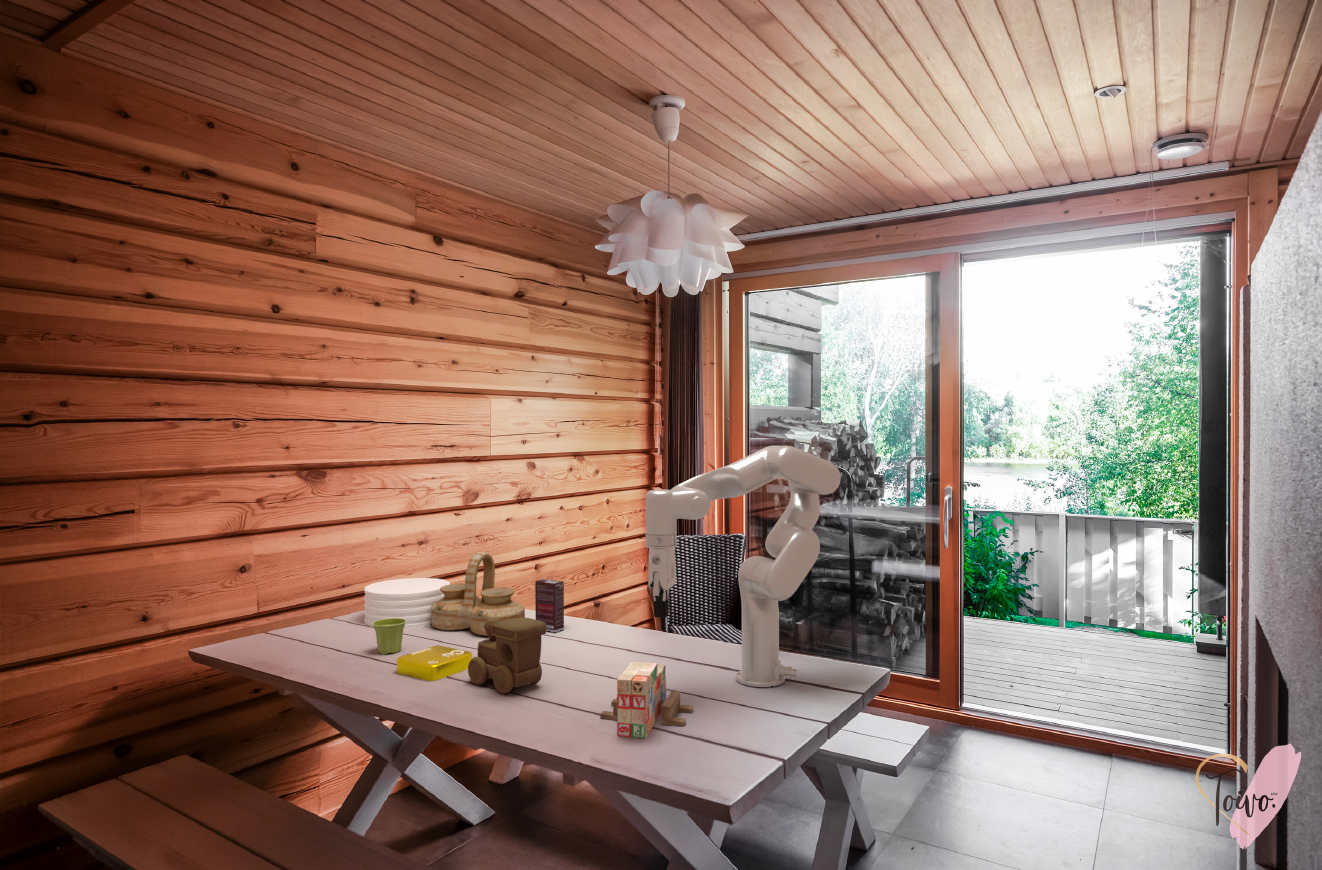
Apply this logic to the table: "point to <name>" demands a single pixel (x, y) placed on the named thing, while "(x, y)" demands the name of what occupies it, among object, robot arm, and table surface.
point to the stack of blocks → (640, 698)
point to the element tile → (433, 663)
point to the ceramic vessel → (475, 600)
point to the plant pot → (389, 634)
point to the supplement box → (550, 603)
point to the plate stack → (403, 600)
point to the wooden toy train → (509, 654)
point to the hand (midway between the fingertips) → (661, 616)
